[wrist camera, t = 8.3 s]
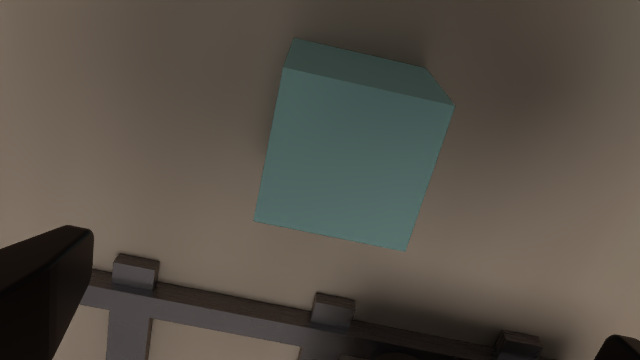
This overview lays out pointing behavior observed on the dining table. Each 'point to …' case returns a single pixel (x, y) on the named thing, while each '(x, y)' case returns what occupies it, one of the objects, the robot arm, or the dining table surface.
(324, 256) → the dining table surface
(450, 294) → the dining table surface
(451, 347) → the rail
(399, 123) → the block
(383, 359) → the cart
